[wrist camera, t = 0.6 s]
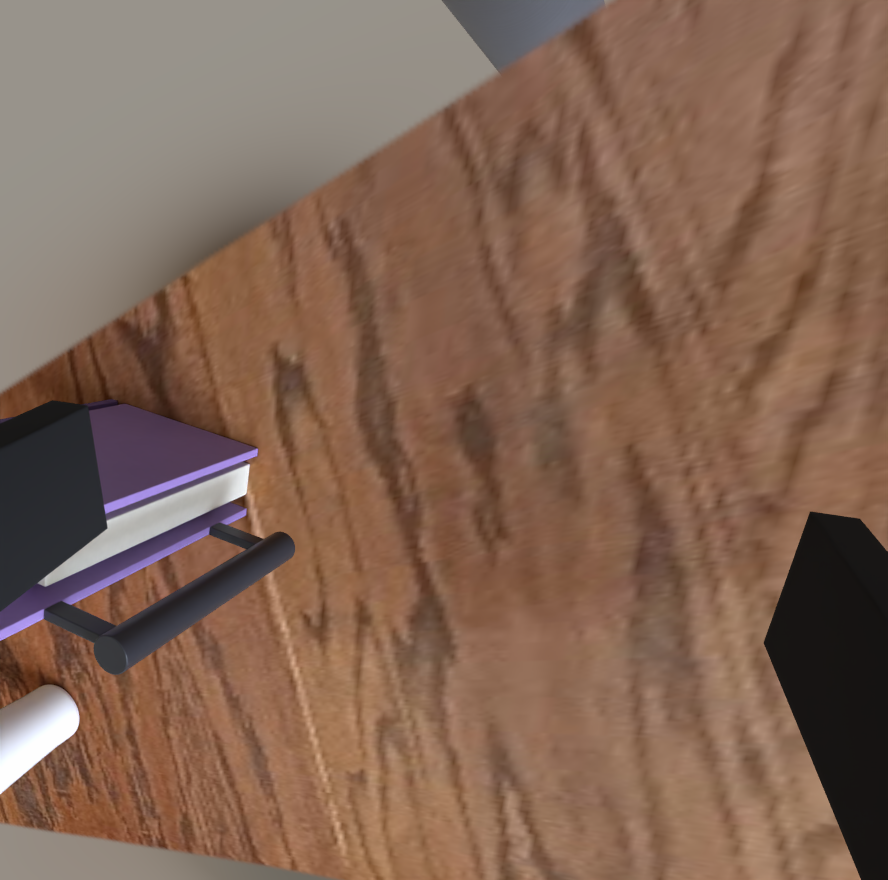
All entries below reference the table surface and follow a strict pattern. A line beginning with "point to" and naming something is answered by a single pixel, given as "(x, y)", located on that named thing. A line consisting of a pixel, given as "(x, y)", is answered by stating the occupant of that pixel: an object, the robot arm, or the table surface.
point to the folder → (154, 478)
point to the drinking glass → (34, 730)
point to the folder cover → (168, 615)
